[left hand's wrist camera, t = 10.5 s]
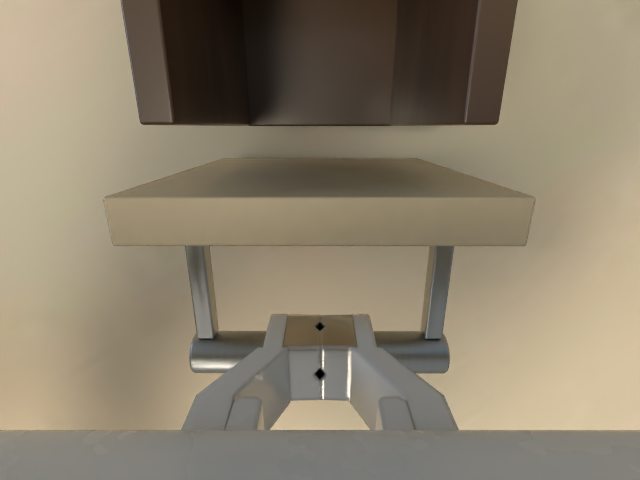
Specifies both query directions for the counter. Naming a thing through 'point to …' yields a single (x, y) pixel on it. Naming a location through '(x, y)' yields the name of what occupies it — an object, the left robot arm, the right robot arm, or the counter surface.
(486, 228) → the drawer
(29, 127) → the counter surface
